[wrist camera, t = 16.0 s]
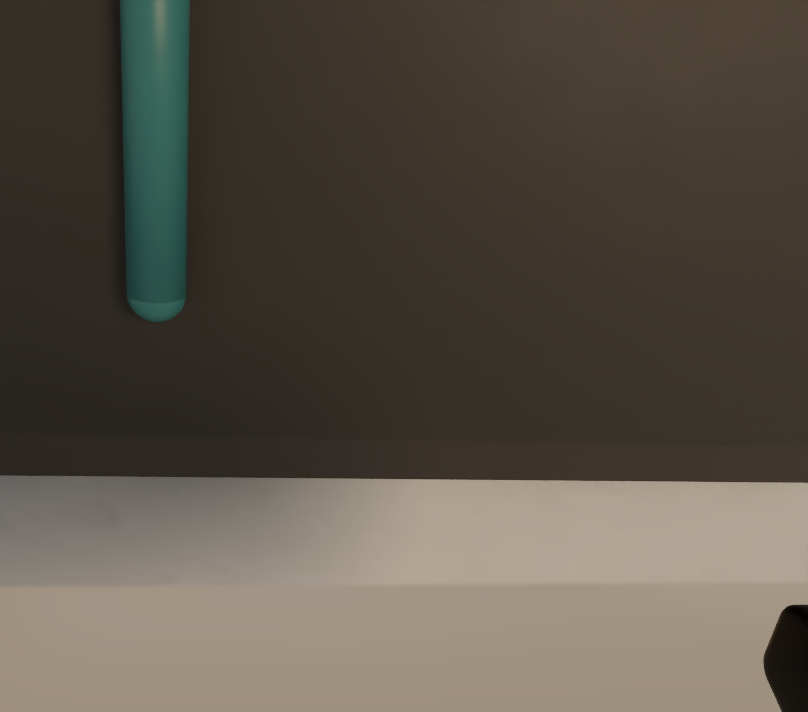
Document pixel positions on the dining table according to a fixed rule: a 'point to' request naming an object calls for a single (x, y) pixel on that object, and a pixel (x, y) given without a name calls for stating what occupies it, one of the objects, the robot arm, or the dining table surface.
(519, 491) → the dining table surface
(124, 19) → the stylus
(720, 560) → the dining table surface
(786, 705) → the robot arm
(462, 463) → the tablet
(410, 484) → the dining table surface
